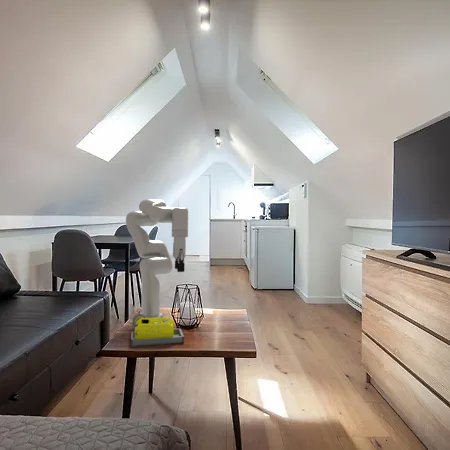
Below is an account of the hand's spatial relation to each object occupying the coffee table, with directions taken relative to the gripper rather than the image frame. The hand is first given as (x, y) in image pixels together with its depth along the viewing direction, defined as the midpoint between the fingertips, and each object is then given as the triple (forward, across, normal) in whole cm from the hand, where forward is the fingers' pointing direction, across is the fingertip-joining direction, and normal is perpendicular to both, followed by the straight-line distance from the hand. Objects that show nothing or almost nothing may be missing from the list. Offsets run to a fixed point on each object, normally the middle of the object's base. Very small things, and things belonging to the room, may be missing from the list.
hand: (179, 270), depth 166 cm
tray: (+28, +12, -11) cm, 32 cm away
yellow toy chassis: (+28, +12, -12) cm, 32 cm away
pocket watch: (+28, -2, -17) cm, 33 cm away
